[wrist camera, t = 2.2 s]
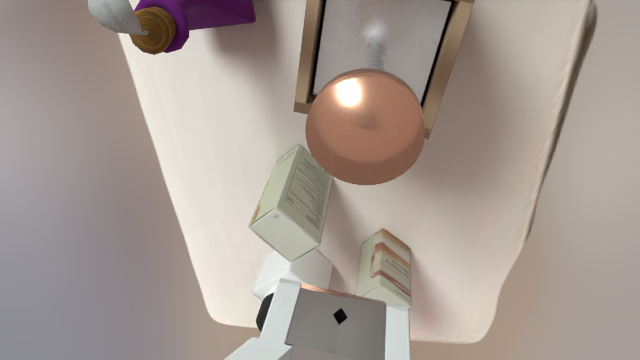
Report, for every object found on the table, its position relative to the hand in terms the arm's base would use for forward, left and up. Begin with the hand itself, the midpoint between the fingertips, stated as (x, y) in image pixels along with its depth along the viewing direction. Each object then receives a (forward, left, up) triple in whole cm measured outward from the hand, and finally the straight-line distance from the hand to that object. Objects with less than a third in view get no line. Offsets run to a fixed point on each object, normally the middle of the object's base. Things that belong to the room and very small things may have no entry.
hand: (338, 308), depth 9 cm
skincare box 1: (+19, -5, -35) cm, 40 cm away
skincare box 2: (+28, +7, -35) cm, 45 cm away
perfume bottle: (-1, -16, -35) cm, 38 cm away
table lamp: (0, 0, -23) cm, 23 cm away
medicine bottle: (+34, -4, -35) cm, 49 cm away
